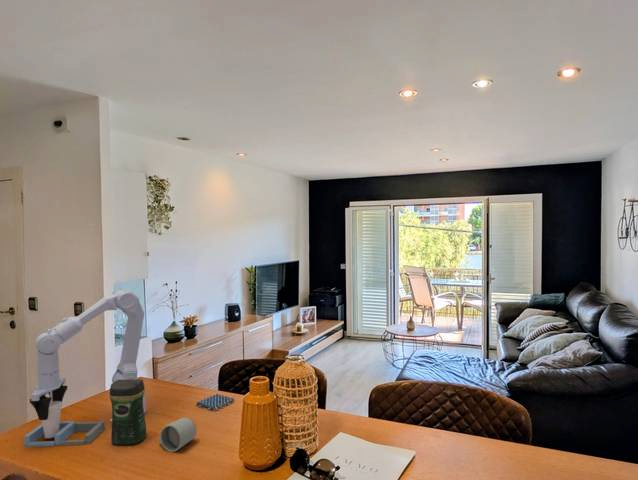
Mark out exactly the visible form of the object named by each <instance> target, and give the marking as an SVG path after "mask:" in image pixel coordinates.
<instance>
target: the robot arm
mask: <svg viewBox="0 0 638 480" xmlns="http://www.w3.org/2000/svg"><path fill="white" fill-rule="evenodd" d="M118 309H119V310H121V311H122V312H123V314H124V315H126V317H127V320H126V325H125V331H124V338H123V343H122V350H121V353H120V354H121V355H120V361H119V363H118V365H117V366H116V370H115V372H114V373H113V375H112V378H111V382H112V383H114V382H115V381H117V380H138V368H137V360H138V354H139V347H140V341H141V336H142V328H143V324H144V323H143V322H144V316H145V312H144V309H143V306H142V304H141V302H140V298H139V297H138V296H137V295H136V294H135V293H134V292H132V291H128V290H126V289H123V288H118V289H115V290H113V292H110V293H108V294H106V295H105V296H104V297H102V298H101V299H100V300H98V301H96V302H95V303H94V304H93V305H91V306H90V307H88V308H87V309H85V310H84V311H83V312H82V313H80V314H79V315H77V316H69V317H68V318H67V317H64V318H63V319H62V320H61V321H62V322H60V323H58V324H57V325H55V326H54V327H52V328H48V329H47V332H44V333H41V334H39V335H38V336H37V338H36V339H35V342H34V347H36V349H37V351H36V352H37V353H36V356H37V358H36V365H37V366H36V370H37V371H36V372H37V385H36V386H35V387H34V391H33V392H32V393H31V394H30V398H29V404H31V405H32V407H33V408H34V410H35V412H36V414H37V417H38V419H39V421H41V420H47V419H48V411H49V404H50V401H51V399H52V400H53V401H61V402H62V403H63V399H64V396H65V394H66V392H67V390H68V385H65V384H67V383H66V377H60V359H59V357H60V356H59V352H58V351H59V349H60V346H61V344H64V343H66V342H67V341H69V340H70V339H72V338H73V337H75V335H77V334H79V333H80V332H81V331H82V329H83V327H84V325H86V324H87V323H88V322H90V321H92V320H93V319H95V318H97V317H98V316H100V315H101V314H103V313H105V312H107V311H117V310H118ZM50 391H52V397H50ZM47 394H48V395H49V397H48V396H46V395H47ZM143 409H144V414H146V412H147V409H146V394H145V392H144V395H143ZM109 422H111V423H112V418H111V419H110V420H109Z"/></svg>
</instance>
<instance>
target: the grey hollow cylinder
mask: <svg viewBox="0 0 638 480" xmlns="http://www.w3.org/2000/svg"><path fill="white" fill-rule="evenodd" d="M196 435H197V426H196V423H195V421H194V420H193V419H192V418H190V417H182V418H179V419H177V420H174V421H172V422H170V423H168V424H166V425H165V426H164V427H163V428H162V429H161V431H160V437H159V439H158V442H159V444H160V445H161V446H162V447H163V448H164V449H165V450H166V451H168V452H170V453H171V452H172V453H173V452H174V453H175V452H176V451H178V450H180V449H182V448H183V447H184V446H185V445H187V444H188V443H190V442H191V441H192V440H193V439H194V438H195V437H196Z"/></svg>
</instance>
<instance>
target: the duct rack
mask: <svg viewBox="0 0 638 480" xmlns="http://www.w3.org/2000/svg"><path fill="white" fill-rule="evenodd" d="M105 424H106V423H105V421H83V422H82V421H81V422H80V421H79V422H78V421H71V420H68V421H67V420H66V421H64V420H63V421H62V420H61V421H60V425H59V432H58V433H57V434H55V435H54V437H53V438H54V440H51V441H49V440H48V441H47V440H45V441H38V440H39V439H40V438H42V437H43V436H45V435H44V430H43V426H42V423H41V424H39V425H37V426H36V427H34V429H32V430H31V431H30V432H28V433H27V434H26V435H24V436H23V438H24V439H23V441H24V447H28V448H30V447H31V448H34V447H54V446H62V447H63V446H81V445H82V446H84V445H88V444H89V445H90V444H91V443H92V442H93V441H94V440H95V439H96V438H97V437H99V435H100V434H102V432H104V431H105V430H106V425H105ZM75 432H77V433H78V432H79V433H80V432H87V433H86V434H85V435H84V439H73V440H72V439H70V440H67V439H68V438H69V437H71V436H72V435H73V434H74V433H75Z"/></svg>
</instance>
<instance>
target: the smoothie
mask: <svg viewBox="0 0 638 480" xmlns="http://www.w3.org/2000/svg"><path fill="white" fill-rule="evenodd" d="M49 397H52V391H50V396H49ZM62 406H63V401H62V402H61V401H53V400H52V399H51V401H50V404H49V411H48V419H47V420H40V421H41V424H42V426H43V430H44V435H43V436H44V438H45V439H52V438H54V435H55V434H57V433H58V432H59V425H60V422H61V410H62Z"/></svg>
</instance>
